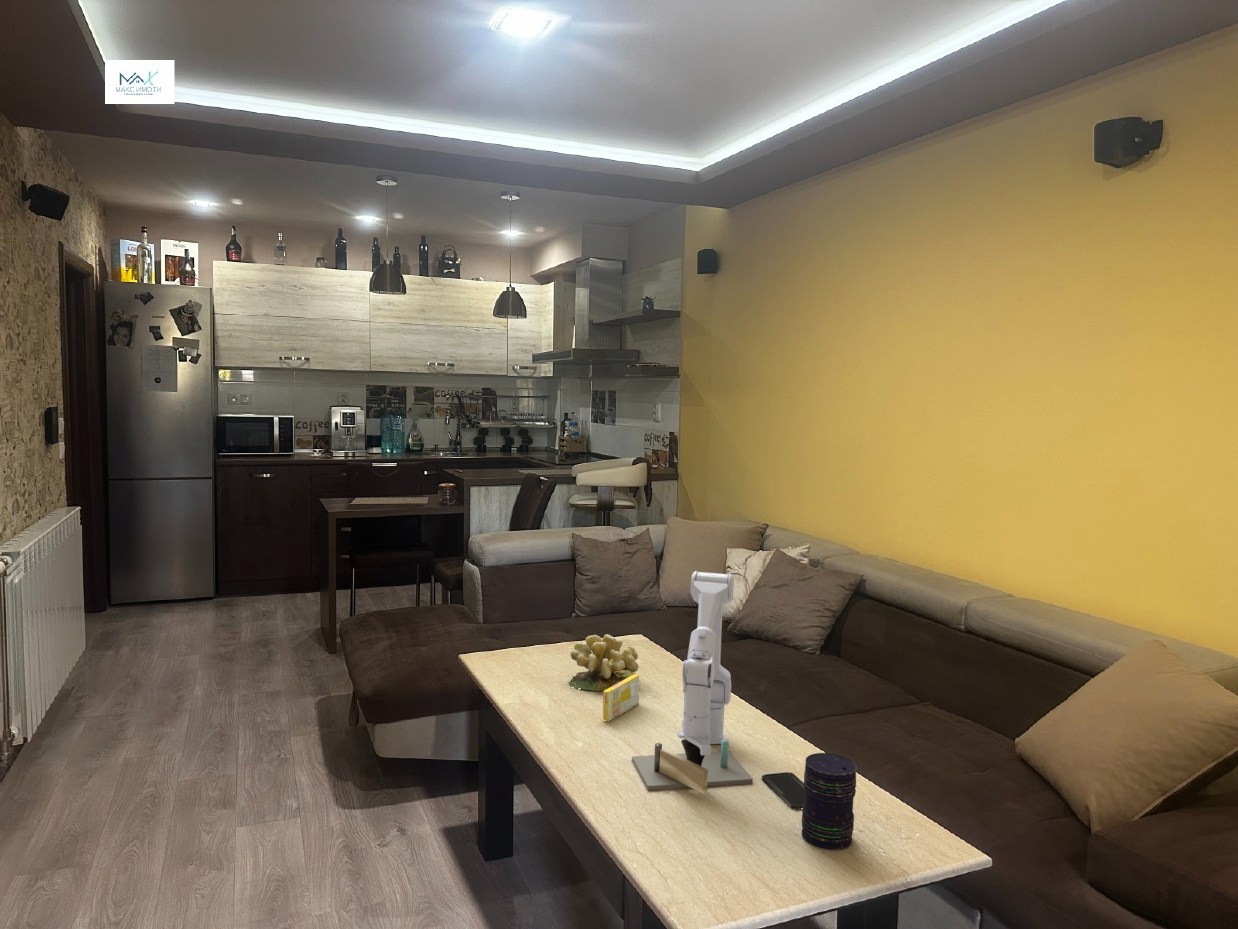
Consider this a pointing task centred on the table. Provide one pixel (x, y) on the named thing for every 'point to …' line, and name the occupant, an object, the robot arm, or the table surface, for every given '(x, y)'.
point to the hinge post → (657, 757)
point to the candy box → (620, 697)
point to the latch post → (724, 753)
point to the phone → (787, 788)
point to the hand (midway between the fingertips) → (694, 773)
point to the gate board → (711, 762)
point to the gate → (683, 770)
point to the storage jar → (828, 801)
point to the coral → (602, 663)
